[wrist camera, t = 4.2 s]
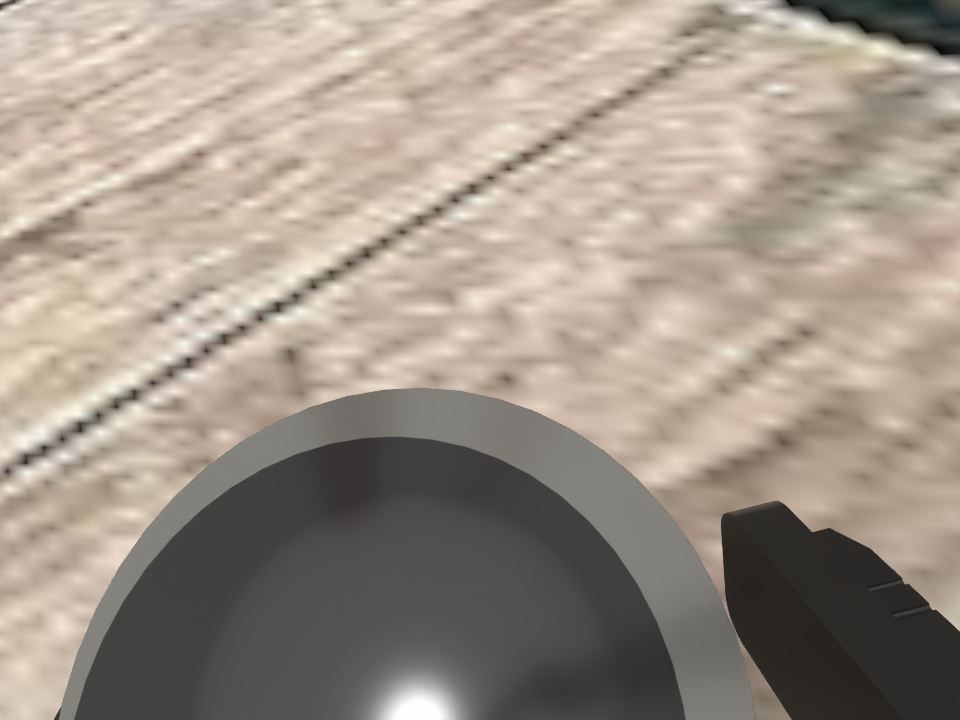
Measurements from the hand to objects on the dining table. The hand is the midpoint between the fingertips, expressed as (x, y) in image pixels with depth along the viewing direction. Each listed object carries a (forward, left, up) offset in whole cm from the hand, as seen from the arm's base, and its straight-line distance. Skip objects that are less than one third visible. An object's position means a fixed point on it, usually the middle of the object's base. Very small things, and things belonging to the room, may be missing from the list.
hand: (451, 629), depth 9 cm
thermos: (0, 0, -6) cm, 6 cm away
